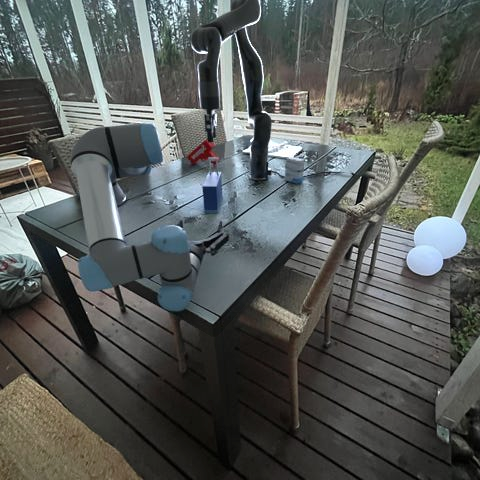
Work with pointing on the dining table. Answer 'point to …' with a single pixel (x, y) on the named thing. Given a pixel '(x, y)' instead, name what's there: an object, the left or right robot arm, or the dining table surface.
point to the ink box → (294, 170)
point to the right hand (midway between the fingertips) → (212, 139)
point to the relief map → (280, 150)
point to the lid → (212, 176)
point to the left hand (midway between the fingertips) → (201, 224)
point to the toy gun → (203, 153)
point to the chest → (212, 198)
